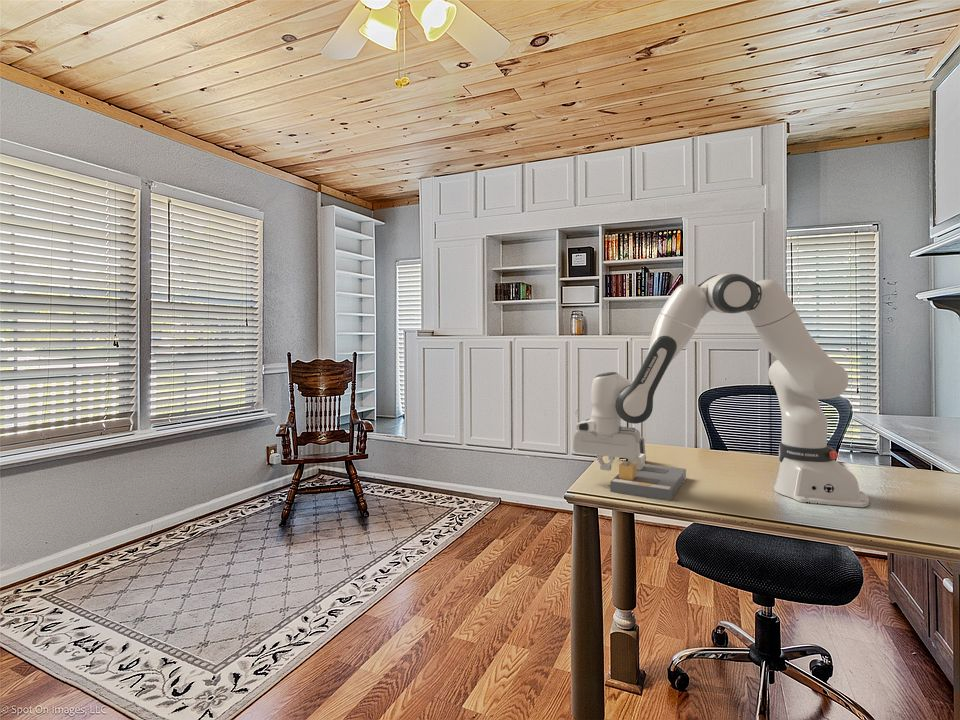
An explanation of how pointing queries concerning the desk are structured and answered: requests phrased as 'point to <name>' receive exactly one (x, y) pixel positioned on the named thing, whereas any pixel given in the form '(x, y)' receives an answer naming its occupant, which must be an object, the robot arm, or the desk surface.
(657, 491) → the switch unit
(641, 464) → the ivory slider
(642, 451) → the grey hollow box
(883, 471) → the desk surface
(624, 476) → the amber slider
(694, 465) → the desk surface
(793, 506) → the desk surface
